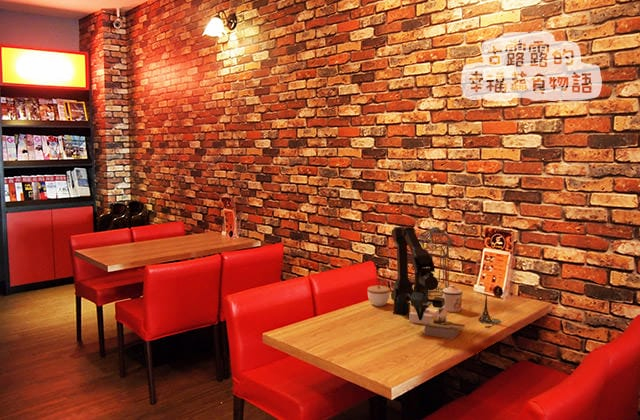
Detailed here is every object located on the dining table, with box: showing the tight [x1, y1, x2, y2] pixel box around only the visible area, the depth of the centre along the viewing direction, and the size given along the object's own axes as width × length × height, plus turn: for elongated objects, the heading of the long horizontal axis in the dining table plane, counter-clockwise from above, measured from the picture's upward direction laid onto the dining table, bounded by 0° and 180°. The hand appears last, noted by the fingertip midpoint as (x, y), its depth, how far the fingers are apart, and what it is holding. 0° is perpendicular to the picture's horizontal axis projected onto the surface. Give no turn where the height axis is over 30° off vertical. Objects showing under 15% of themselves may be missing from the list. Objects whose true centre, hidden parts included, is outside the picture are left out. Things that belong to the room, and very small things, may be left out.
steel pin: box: [437, 308, 448, 325], centre depth 220 cm, size 3×3×10 cm
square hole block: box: [408, 307, 439, 326], centre depth 236 cm, size 10×10×4 cm
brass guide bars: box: [429, 315, 466, 331], centre depth 220 cm, size 14×6×3 cm, turn 64°
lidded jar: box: [367, 284, 391, 307], centre depth 260 cm, size 11×11×9 cm
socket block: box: [424, 323, 460, 340], centre depth 221 cm, size 12×10×3 cm
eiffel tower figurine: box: [477, 294, 502, 329], centre depth 234 cm, size 15×10×13 cm
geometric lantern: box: [416, 226, 455, 297], centre depth 275 cm, size 16×16×35 cm
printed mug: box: [441, 284, 463, 313], centre depth 252 cm, size 12×9×12 cm
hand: (420, 320), depth 225 cm, fingers closed
